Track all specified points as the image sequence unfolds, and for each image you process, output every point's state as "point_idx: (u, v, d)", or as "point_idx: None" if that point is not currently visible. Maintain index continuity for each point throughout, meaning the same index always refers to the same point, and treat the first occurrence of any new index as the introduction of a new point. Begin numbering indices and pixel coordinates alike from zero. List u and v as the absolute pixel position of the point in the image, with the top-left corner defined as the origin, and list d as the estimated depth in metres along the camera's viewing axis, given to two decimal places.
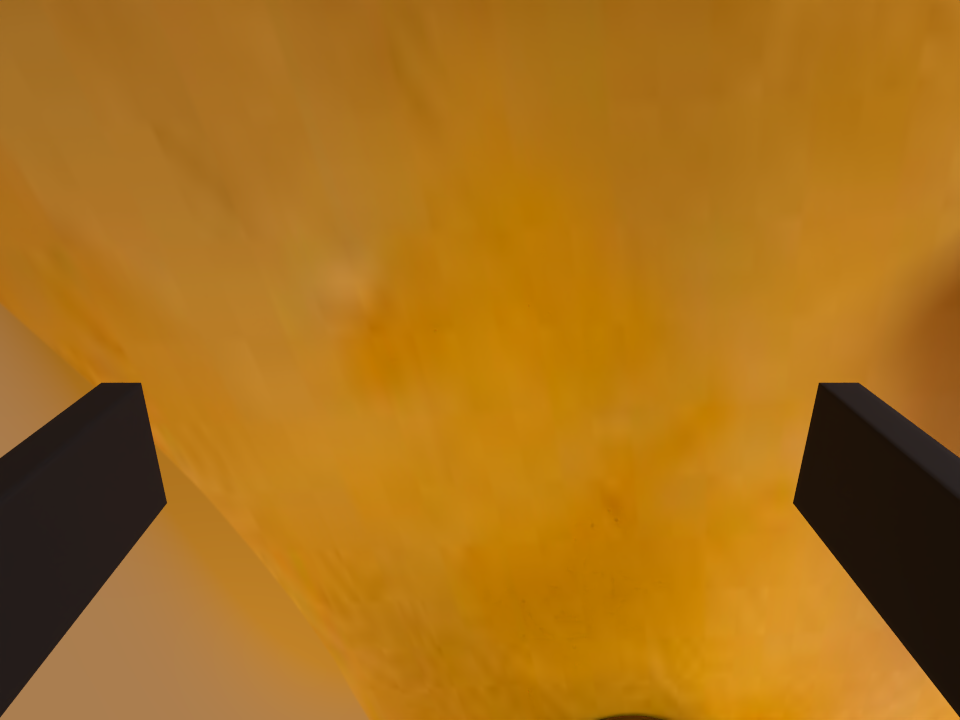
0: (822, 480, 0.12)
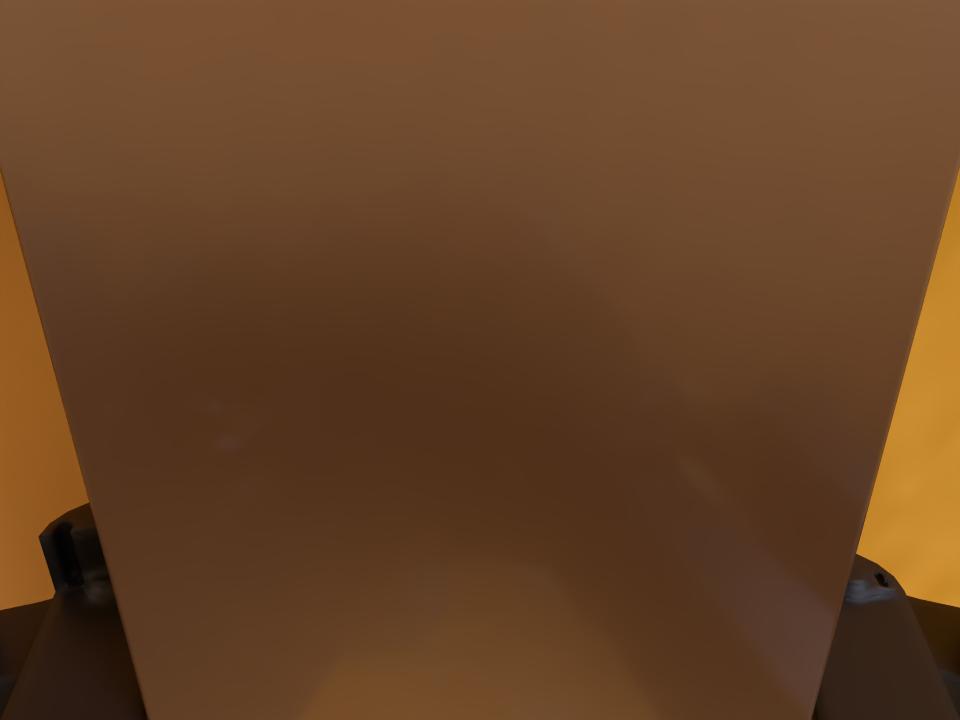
0: None
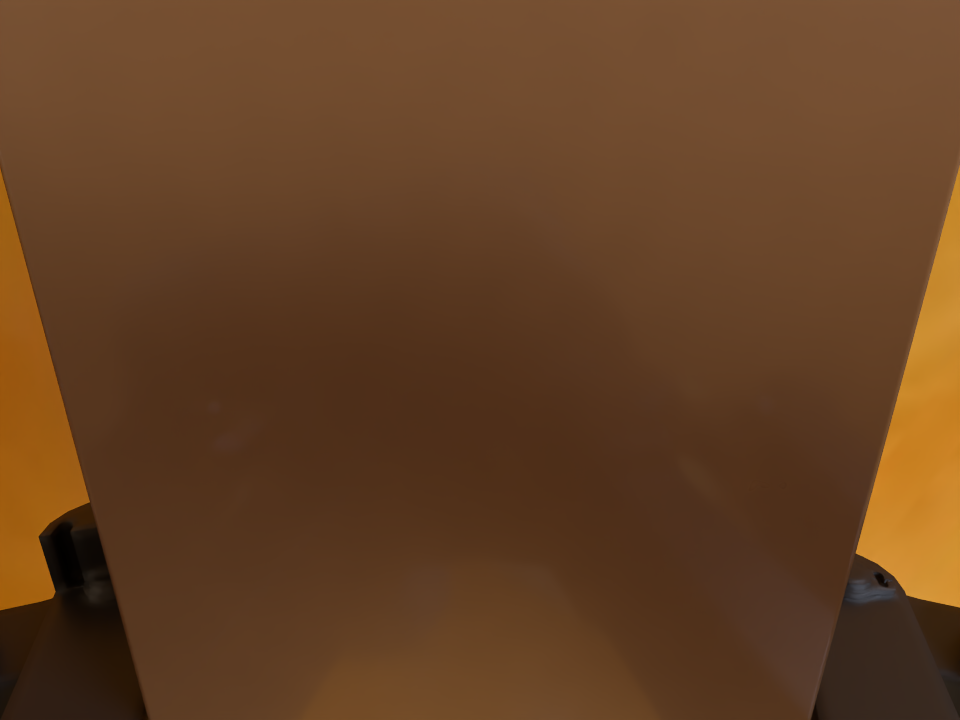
0: None
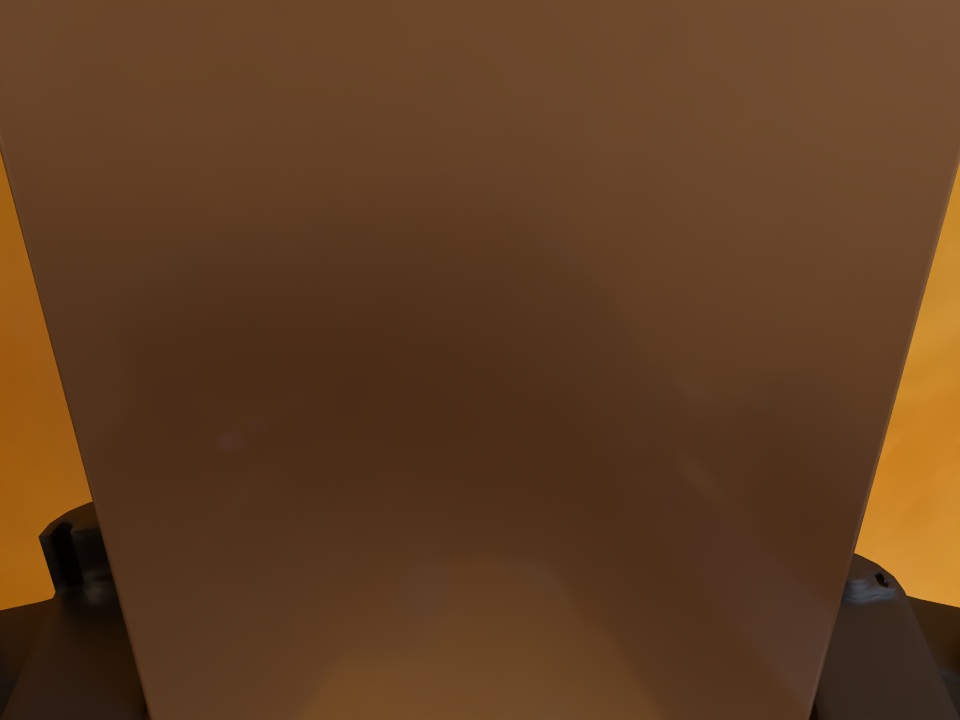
0: None
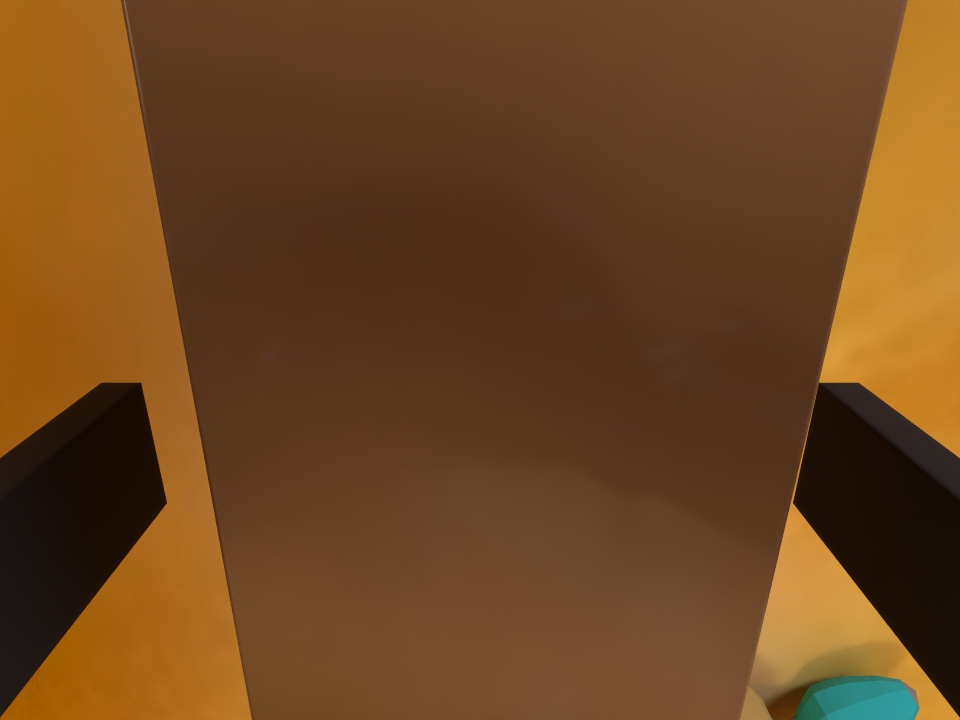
0: (822, 480, 0.12)
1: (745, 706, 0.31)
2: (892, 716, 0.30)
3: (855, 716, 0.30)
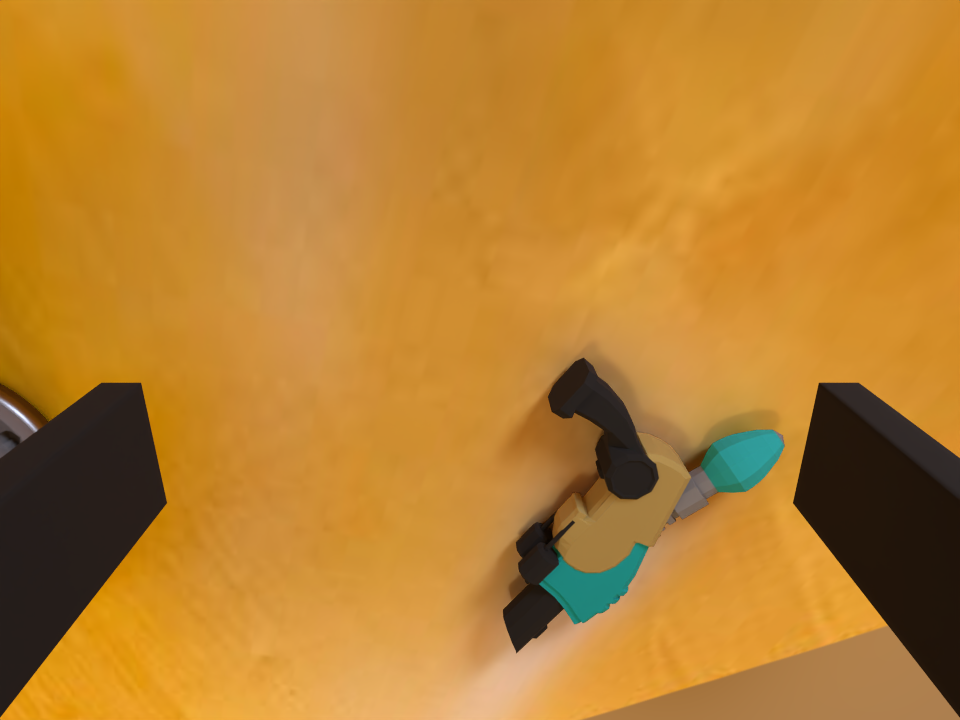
0: (822, 480, 0.12)
1: (662, 448, 0.44)
2: (764, 448, 0.43)
3: (738, 449, 0.43)
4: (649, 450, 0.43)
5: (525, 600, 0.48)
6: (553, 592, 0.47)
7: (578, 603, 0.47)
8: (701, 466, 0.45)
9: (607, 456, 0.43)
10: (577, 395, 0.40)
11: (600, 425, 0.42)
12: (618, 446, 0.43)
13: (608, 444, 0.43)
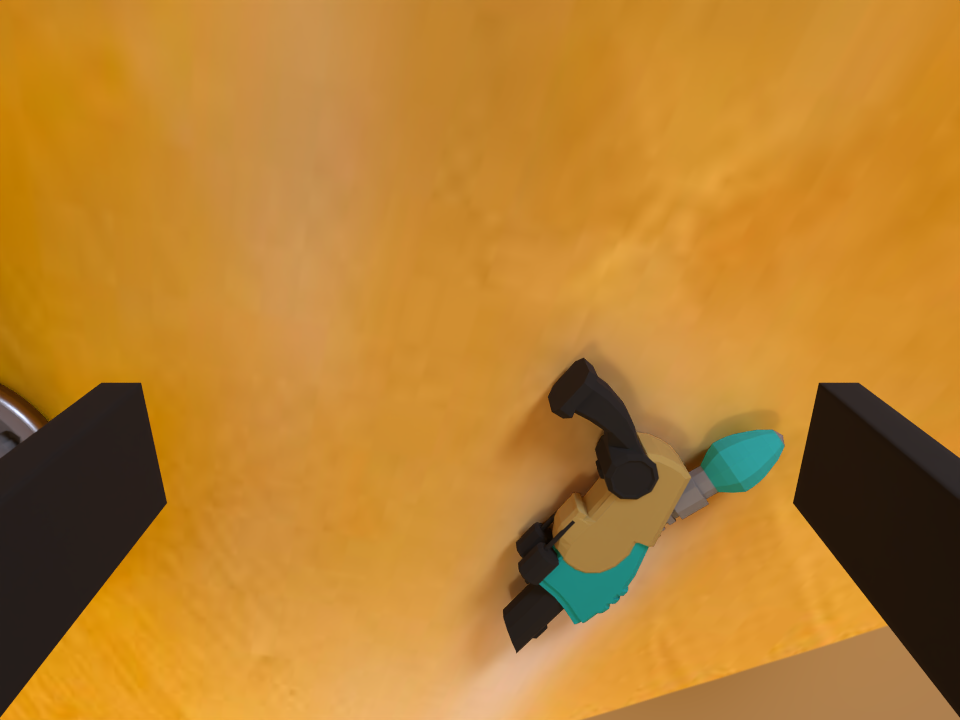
0: (822, 480, 0.12)
1: (662, 448, 0.44)
2: (764, 448, 0.43)
3: (738, 449, 0.43)
4: (649, 450, 0.43)
5: (525, 600, 0.48)
6: (553, 592, 0.47)
7: (578, 603, 0.47)
8: (701, 466, 0.45)
9: (607, 456, 0.43)
10: (577, 395, 0.40)
11: (600, 425, 0.42)
12: (618, 446, 0.43)
13: (608, 444, 0.43)
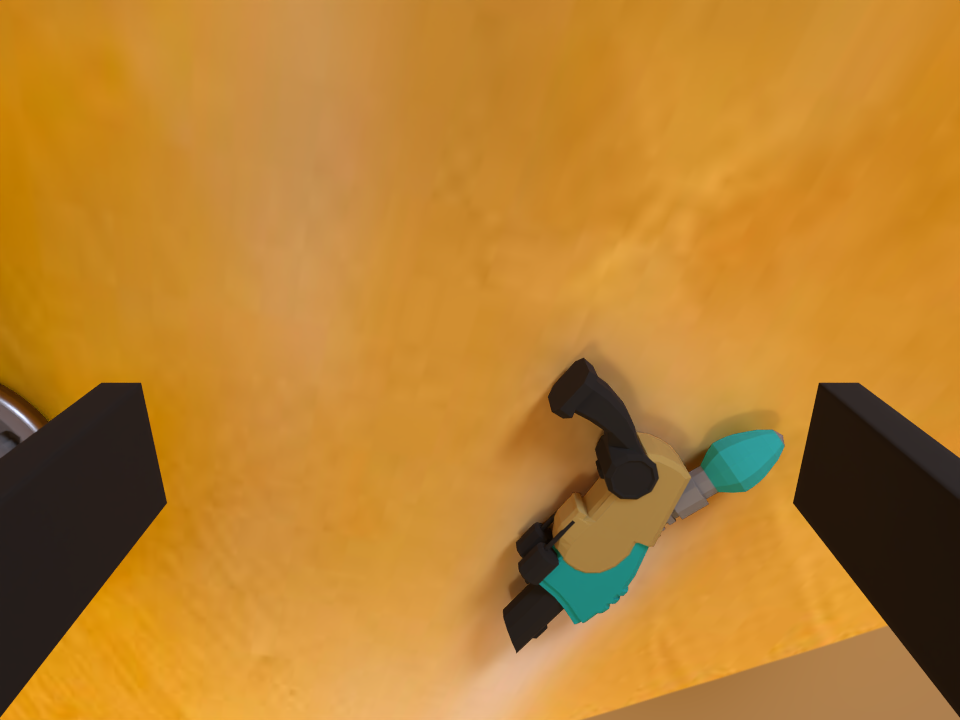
0: (822, 480, 0.12)
1: (662, 448, 0.44)
2: (764, 448, 0.43)
3: (738, 449, 0.43)
4: (649, 450, 0.43)
5: (525, 600, 0.48)
6: (553, 592, 0.47)
7: (578, 603, 0.47)
8: (701, 466, 0.45)
9: (607, 456, 0.43)
10: (577, 395, 0.40)
11: (600, 425, 0.42)
12: (618, 446, 0.43)
13: (608, 444, 0.43)
